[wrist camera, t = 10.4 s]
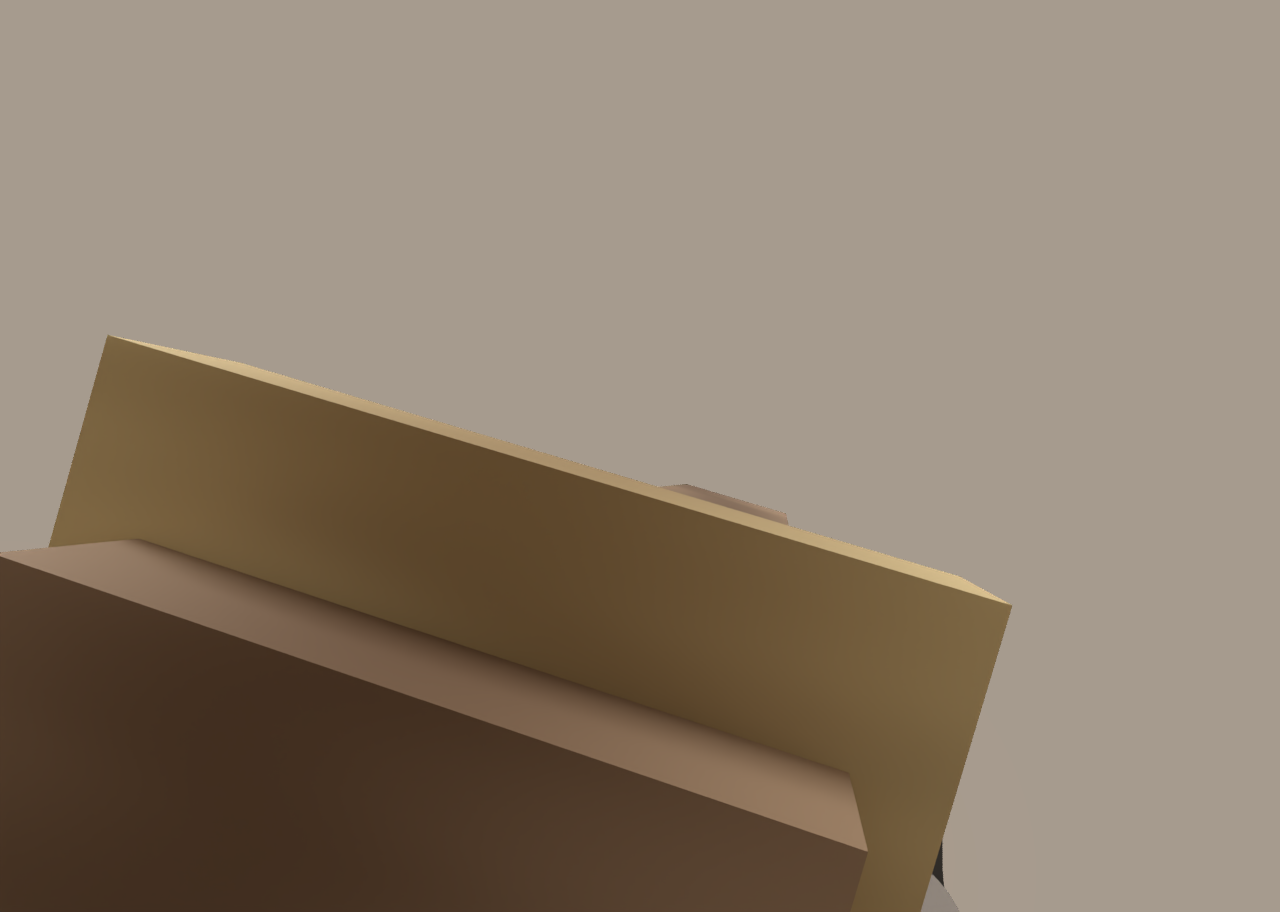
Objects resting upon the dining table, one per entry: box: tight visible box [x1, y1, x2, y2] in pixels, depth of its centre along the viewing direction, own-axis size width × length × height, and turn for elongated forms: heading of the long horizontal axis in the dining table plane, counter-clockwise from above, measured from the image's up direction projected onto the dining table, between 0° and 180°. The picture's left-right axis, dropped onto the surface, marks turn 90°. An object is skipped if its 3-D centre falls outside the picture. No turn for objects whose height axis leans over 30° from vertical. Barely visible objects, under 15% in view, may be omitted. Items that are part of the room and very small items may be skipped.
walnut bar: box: [0, 335, 1012, 912], centre depth 18 cm, size 4×30×4 cm, turn 171°
